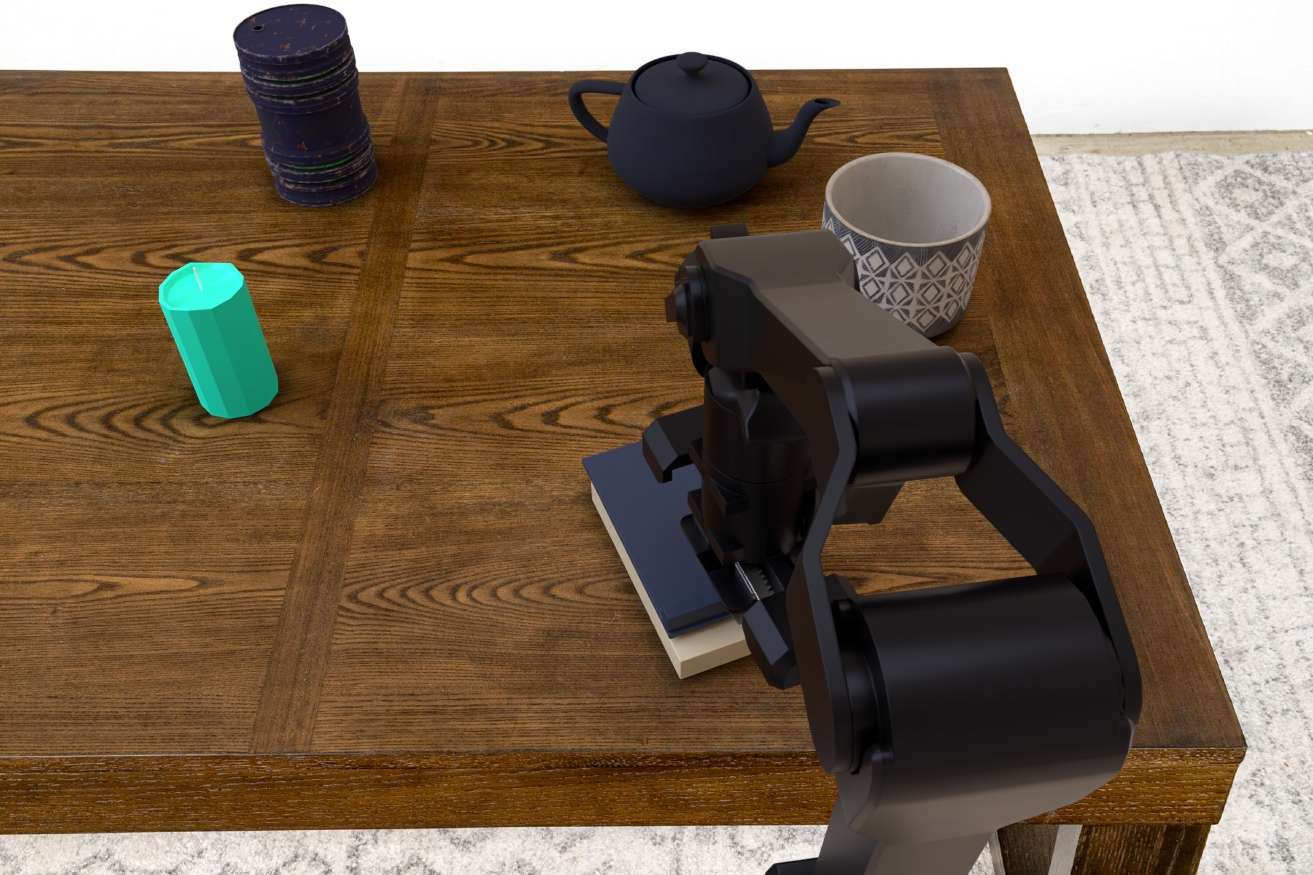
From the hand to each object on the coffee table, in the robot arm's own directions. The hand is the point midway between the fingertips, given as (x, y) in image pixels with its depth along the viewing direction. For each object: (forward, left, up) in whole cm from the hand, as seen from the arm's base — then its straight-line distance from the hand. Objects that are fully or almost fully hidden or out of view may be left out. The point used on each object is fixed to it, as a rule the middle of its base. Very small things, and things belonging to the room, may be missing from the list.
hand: (743, 618), depth 71 cm
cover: (+9, 0, -1) cm, 9 cm away
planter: (+26, -26, -3) cm, 37 cm away
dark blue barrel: (+63, +14, -3) cm, 65 cm away
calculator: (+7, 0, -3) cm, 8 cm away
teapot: (+49, -19, -3) cm, 53 cm away
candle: (+36, +26, -3) cm, 45 cm away
